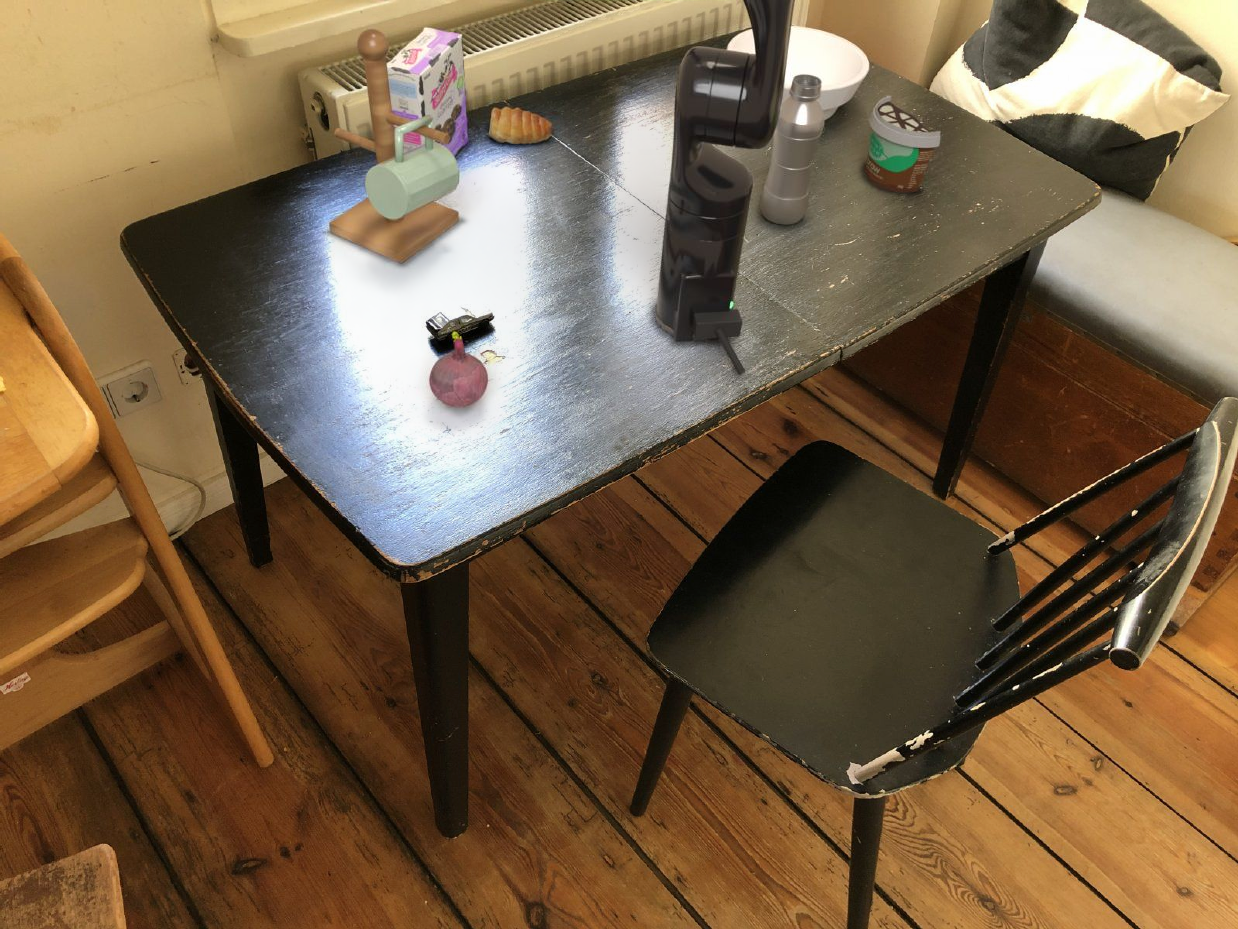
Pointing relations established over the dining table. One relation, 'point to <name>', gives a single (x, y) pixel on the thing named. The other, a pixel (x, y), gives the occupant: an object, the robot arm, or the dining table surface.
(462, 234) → the dining table surface
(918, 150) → the food container
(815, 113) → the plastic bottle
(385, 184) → the mug
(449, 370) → the vegetable
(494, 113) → the pastry
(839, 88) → the bowl
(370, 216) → the mug tree
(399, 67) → the candy box
